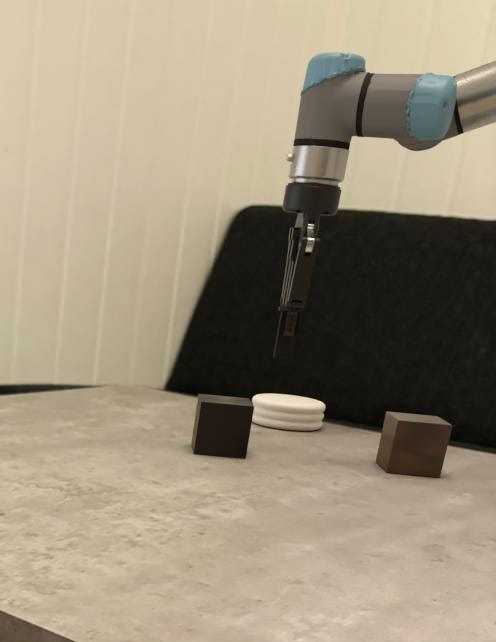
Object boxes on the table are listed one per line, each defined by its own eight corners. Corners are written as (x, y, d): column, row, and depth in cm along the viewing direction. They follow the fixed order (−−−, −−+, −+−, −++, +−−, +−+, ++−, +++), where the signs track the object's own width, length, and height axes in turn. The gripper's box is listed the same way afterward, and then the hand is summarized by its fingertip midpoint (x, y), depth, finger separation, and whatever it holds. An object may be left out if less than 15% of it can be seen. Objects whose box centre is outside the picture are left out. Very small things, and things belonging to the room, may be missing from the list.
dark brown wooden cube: (426, 466, 121) (438, 416, 118) (440, 478, 115) (452, 425, 113) (375, 461, 121) (386, 411, 119) (386, 472, 115) (398, 420, 113)
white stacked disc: (234, 419, 141) (238, 394, 140) (276, 415, 147) (281, 391, 146) (293, 433, 134) (298, 407, 133) (335, 429, 141) (340, 403, 139)
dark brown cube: (240, 448, 122) (249, 398, 120) (245, 458, 117) (254, 406, 114) (191, 443, 123) (198, 393, 120) (193, 453, 117) (201, 401, 115)
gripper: (280, 182, 145) (252, 351, 154) (293, 178, 133) (261, 361, 142) (333, 187, 145) (301, 355, 154) (351, 183, 133) (315, 366, 142)
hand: (282, 358), depth 148 cm, fingers closed
